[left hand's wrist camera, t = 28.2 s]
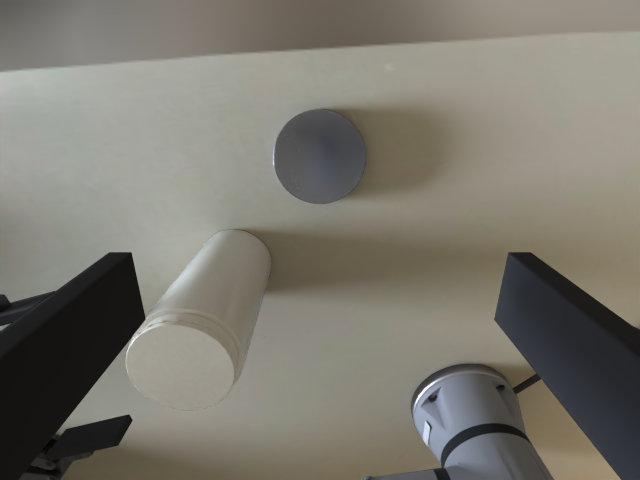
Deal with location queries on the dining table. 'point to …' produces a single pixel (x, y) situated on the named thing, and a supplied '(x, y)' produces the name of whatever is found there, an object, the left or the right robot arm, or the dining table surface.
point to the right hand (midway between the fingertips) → (88, 371)
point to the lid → (319, 156)
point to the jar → (202, 325)
